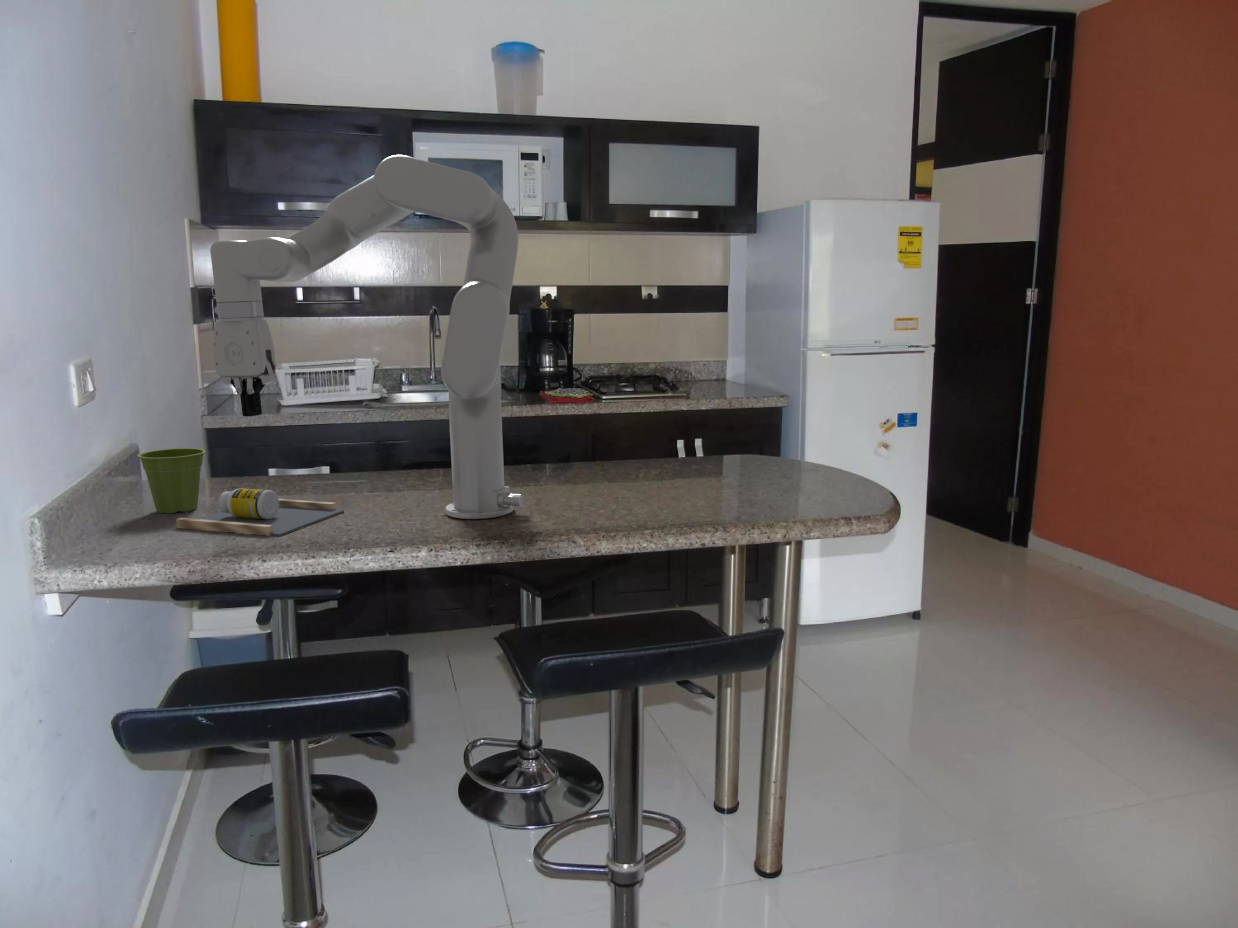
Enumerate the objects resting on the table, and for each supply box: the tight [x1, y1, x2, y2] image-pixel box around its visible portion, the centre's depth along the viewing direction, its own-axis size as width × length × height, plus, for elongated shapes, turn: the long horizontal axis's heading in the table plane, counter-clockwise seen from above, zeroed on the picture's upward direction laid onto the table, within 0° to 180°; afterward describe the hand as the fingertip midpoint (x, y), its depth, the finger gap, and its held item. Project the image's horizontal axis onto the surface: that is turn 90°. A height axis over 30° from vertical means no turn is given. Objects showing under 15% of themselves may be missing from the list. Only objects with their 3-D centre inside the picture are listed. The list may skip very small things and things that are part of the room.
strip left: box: [175, 517, 273, 537], centre depth 161 cm, size 20×1×2 cm, turn 71°
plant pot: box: [136, 447, 207, 514], centre depth 177 cm, size 12×12×11 cm
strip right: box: [278, 498, 337, 510], centre depth 178 cm, size 20×1×2 cm, turn 71°
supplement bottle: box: [218, 487, 279, 519], centre depth 169 cm, size 5×5×10 cm
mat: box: [199, 506, 345, 537], centre depth 169 cm, size 22×18×1 cm
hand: (252, 415), depth 166 cm, fingers closed
